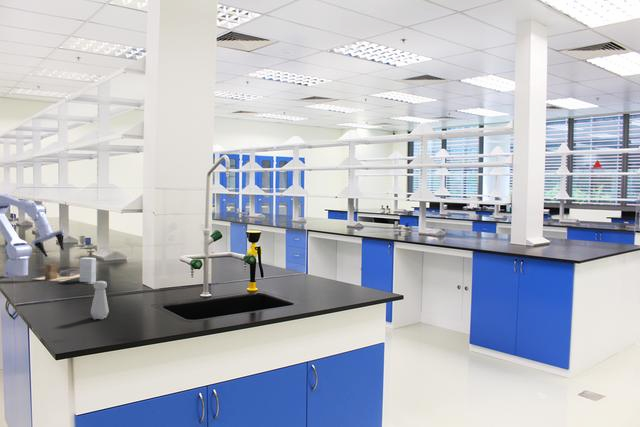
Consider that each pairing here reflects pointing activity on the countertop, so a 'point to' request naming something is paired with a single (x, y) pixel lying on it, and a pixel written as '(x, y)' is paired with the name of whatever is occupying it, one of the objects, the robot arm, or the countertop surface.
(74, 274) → the clip board
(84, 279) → the skincare box
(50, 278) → the tan upright block
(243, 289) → the countertop surface
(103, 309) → the salt shaker
